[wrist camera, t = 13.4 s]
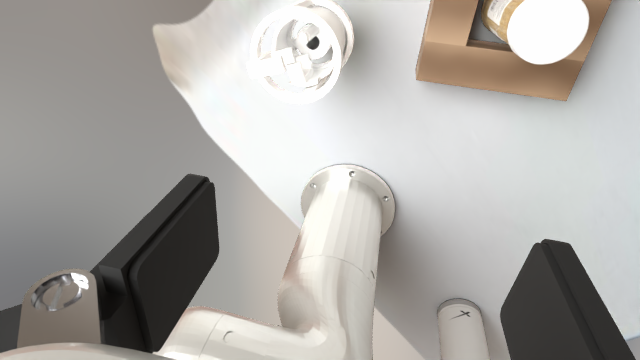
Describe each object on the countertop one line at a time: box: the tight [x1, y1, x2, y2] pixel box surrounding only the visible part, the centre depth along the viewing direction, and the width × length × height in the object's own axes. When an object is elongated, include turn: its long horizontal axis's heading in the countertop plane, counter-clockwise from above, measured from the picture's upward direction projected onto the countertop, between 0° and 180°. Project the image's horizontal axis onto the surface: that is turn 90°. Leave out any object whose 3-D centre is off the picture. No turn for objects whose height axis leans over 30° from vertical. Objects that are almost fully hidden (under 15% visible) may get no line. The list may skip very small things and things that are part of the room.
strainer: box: [246, 0, 354, 104], centre depth 34 cm, size 7×7×15 cm
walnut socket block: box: [416, 0, 612, 101], centre depth 34 cm, size 14×14×4 cm
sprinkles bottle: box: [481, 0, 589, 65], centre depth 30 cm, size 5×5×14 cm
